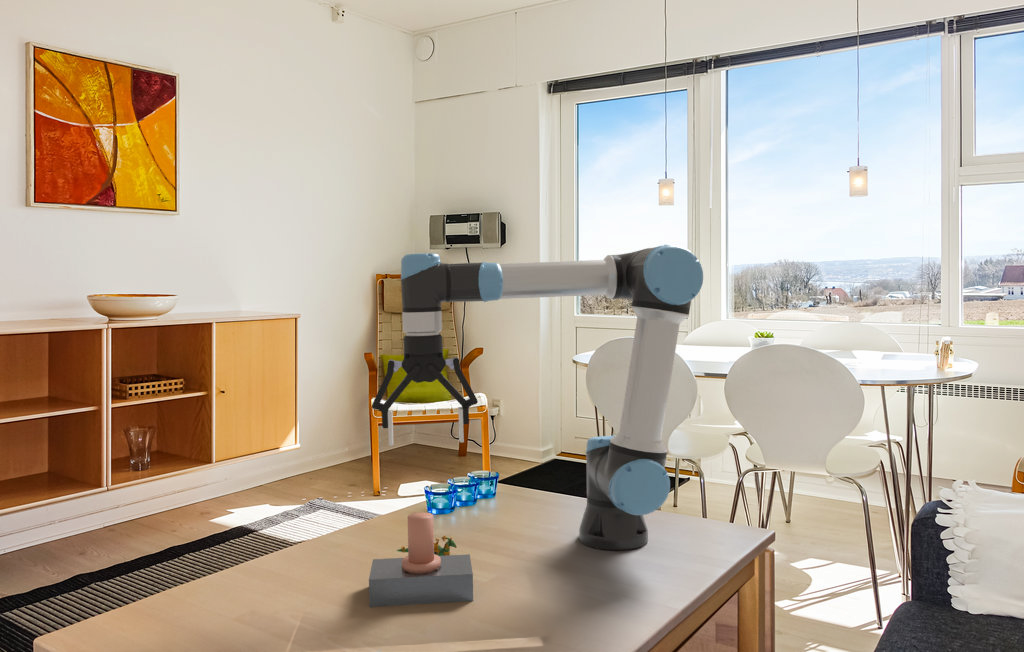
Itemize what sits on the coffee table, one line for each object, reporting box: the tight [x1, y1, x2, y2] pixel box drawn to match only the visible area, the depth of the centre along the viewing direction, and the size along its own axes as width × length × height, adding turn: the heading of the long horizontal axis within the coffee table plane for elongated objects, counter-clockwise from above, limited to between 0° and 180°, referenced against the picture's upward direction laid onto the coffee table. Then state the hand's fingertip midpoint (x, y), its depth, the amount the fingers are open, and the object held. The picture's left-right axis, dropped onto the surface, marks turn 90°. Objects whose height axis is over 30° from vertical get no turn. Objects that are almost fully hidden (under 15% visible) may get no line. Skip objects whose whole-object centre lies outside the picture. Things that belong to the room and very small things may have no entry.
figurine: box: [396, 535, 458, 556], centre depth 152 cm, size 3×12×8 cm, turn 103°
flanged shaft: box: [402, 511, 441, 574], centre depth 138 cm, size 7×7×14 cm
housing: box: [368, 553, 474, 608], centre depth 138 cm, size 18×10×6 cm, turn 96°
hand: (426, 443), depth 149 cm, fingers open, 13 cm apart
